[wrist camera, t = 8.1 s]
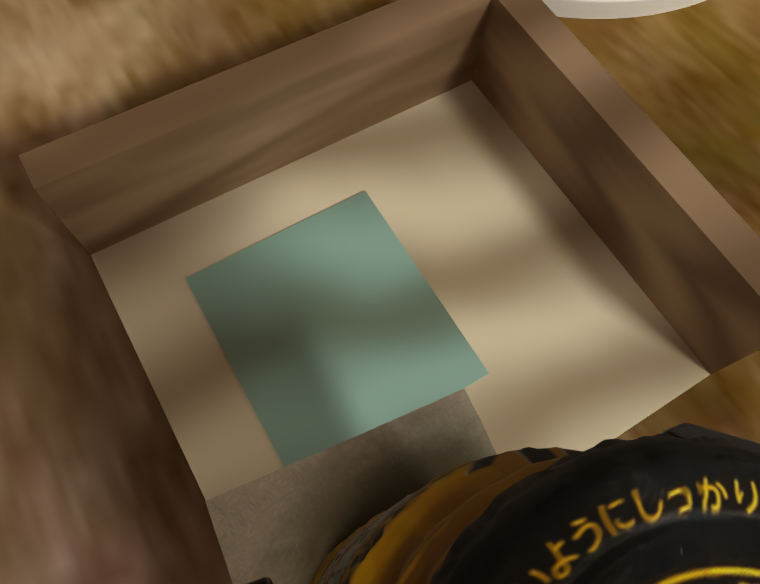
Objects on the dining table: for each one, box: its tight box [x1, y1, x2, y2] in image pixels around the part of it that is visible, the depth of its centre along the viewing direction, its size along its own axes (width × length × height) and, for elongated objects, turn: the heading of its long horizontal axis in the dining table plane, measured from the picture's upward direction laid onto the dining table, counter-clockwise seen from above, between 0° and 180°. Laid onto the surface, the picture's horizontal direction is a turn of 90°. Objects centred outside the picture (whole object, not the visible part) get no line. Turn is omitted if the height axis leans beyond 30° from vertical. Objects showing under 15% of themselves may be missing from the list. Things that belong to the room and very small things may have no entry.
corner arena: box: [19, 0, 760, 500], centre depth 22 cm, size 18×20×5 cm
